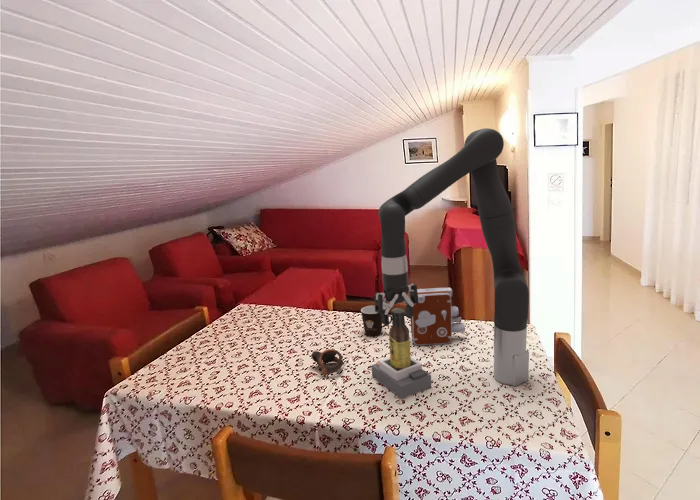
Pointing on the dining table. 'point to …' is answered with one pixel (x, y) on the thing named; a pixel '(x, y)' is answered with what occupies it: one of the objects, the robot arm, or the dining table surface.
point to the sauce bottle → (399, 341)
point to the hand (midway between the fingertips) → (397, 321)
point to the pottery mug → (328, 360)
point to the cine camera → (434, 317)
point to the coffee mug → (372, 321)
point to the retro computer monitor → (402, 377)
